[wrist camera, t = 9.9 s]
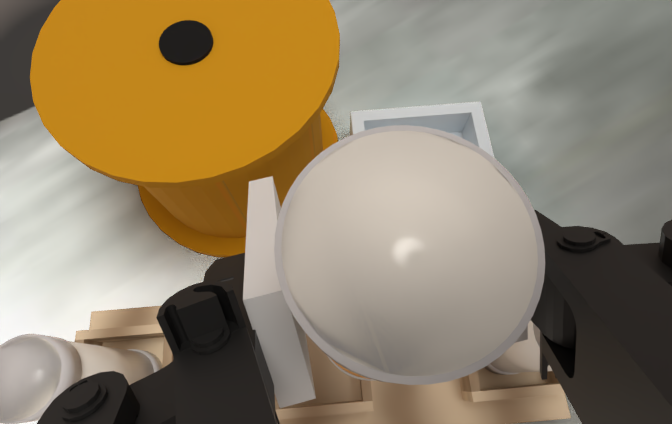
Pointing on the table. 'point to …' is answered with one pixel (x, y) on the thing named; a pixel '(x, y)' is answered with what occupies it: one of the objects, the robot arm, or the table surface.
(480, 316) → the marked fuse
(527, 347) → the fuse
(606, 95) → the table surface
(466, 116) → the tray
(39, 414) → the fuse
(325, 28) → the spool
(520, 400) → the fuse block
